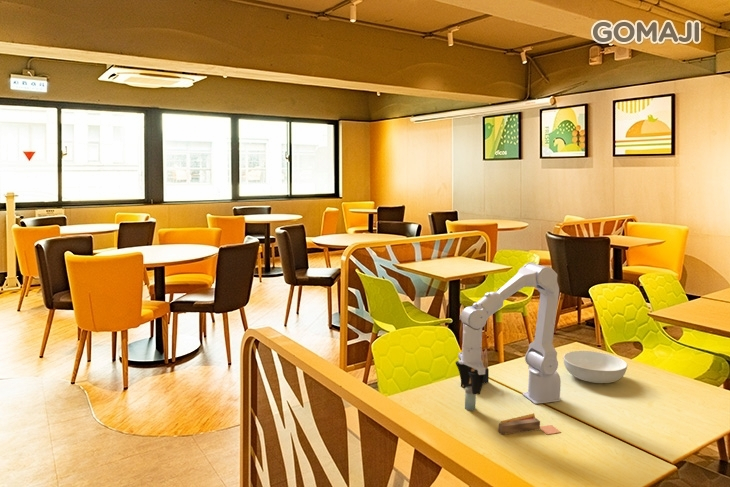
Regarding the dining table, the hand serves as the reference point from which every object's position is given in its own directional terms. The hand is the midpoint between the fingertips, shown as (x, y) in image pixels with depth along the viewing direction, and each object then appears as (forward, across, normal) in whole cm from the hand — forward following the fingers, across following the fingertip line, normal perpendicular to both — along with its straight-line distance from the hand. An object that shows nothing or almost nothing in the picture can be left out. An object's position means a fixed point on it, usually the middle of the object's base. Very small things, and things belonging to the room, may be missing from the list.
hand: (470, 388), depth 175 cm
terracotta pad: (+6, +19, +16) cm, 25 cm away
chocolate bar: (+7, +13, +9) cm, 17 cm away
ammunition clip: (+7, -17, +10) cm, 21 cm away
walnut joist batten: (+6, +17, +7) cm, 20 cm away
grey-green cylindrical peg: (+6, 0, 0) cm, 6 cm away
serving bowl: (+6, -11, +53) cm, 55 cm away
